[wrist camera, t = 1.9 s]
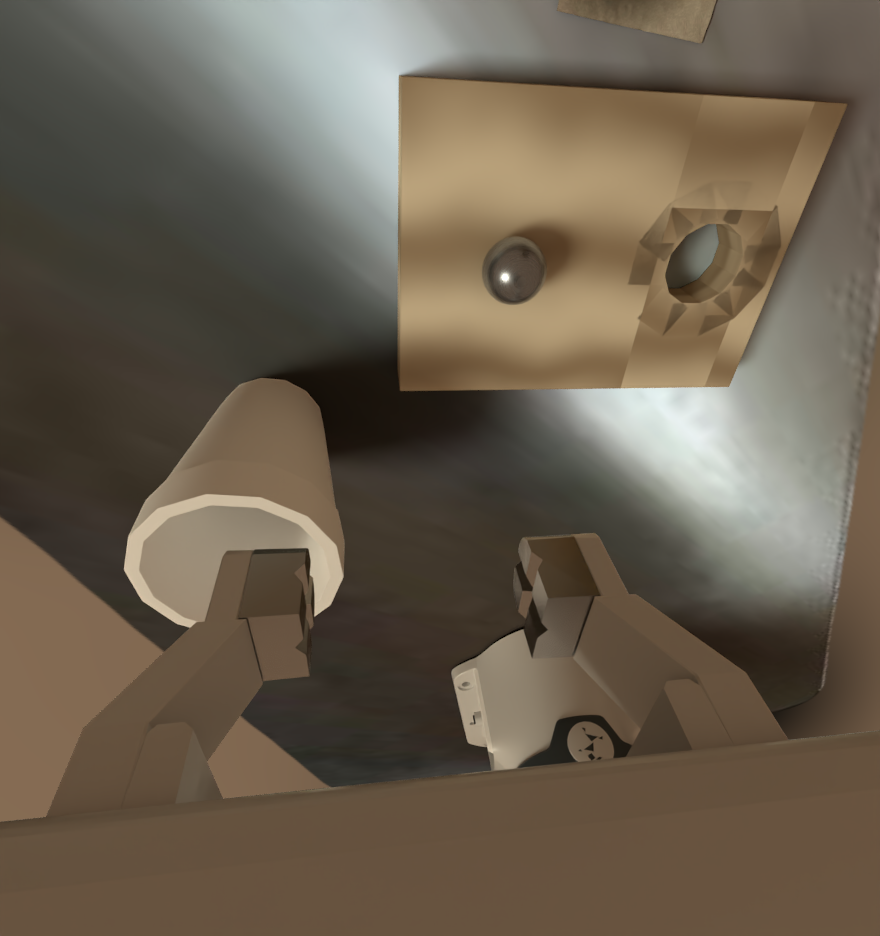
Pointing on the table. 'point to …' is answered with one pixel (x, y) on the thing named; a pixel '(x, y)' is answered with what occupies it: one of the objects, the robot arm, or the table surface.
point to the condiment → (648, 15)
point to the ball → (514, 270)
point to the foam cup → (240, 502)
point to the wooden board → (592, 229)
